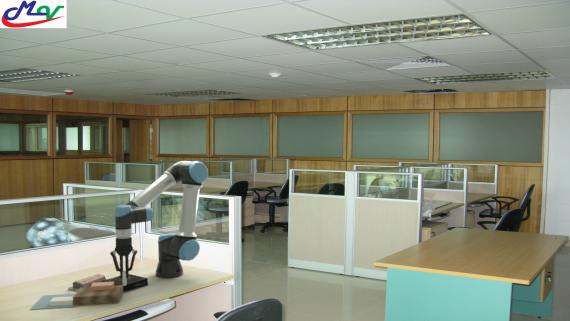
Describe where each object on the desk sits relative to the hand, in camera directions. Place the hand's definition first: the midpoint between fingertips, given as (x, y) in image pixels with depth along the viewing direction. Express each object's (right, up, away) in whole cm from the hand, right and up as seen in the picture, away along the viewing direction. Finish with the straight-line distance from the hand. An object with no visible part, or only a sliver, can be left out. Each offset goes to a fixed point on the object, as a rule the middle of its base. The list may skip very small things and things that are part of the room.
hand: (124, 284), depth 241 cm
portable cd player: (-5, -5, +15) cm, 17 cm away
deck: (-10, -6, -6) cm, 13 cm away
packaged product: (-24, -5, +15) cm, 29 cm away
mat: (-29, -6, -9) cm, 31 cm away
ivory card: (-25, -6, -12) cm, 28 cm away
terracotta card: (-10, -1, -2) cm, 10 cm away
